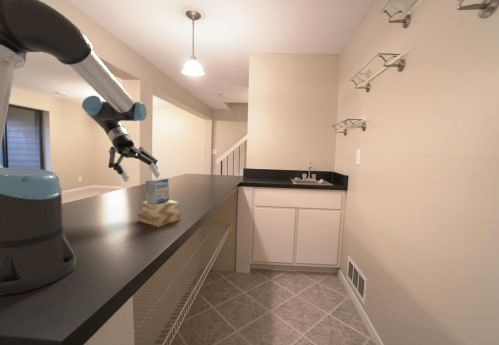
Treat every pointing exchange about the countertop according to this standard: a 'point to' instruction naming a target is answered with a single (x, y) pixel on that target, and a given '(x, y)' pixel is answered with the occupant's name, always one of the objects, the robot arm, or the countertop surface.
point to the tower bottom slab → (158, 218)
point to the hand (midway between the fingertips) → (143, 177)
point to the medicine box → (157, 191)
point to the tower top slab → (160, 208)
